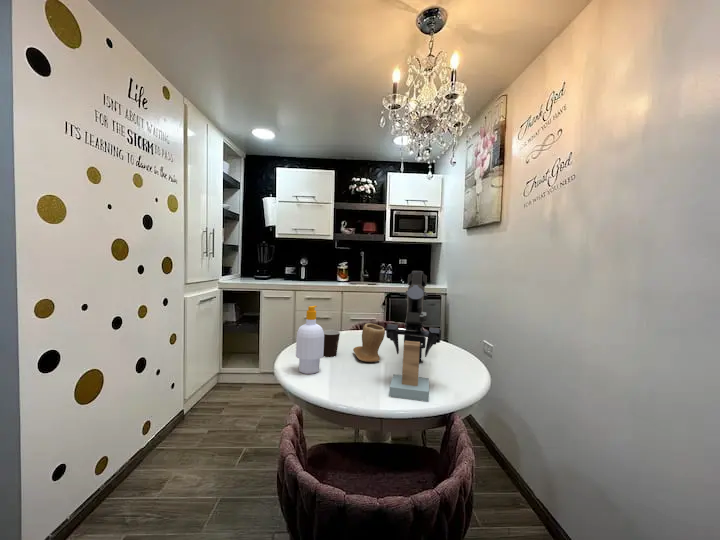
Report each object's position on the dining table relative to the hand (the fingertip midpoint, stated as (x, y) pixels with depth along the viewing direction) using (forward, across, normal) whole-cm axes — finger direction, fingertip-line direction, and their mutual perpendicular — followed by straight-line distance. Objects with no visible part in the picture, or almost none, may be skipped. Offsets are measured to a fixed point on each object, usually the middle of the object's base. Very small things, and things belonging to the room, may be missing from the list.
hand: (411, 355), depth 109 cm
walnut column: (+8, 0, +4) cm, 9 cm away
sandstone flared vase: (-12, -19, +28) cm, 36 cm away
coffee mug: (-12, -36, +29) cm, 48 cm away
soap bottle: (+4, -38, +12) cm, 40 cm away
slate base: (+10, 0, +6) cm, 12 cm away
